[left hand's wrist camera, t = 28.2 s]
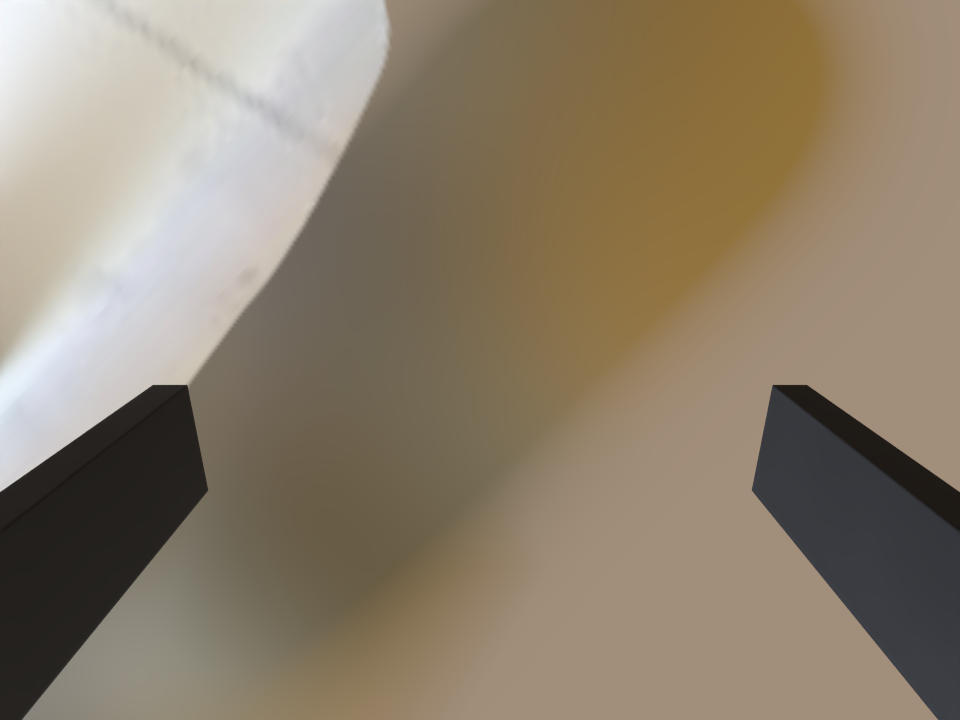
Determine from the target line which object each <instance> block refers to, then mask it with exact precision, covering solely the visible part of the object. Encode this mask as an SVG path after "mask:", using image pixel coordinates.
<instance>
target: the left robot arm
mask: <svg viewBox="0 0 960 720" xmlns="http://www.w3.org/2000/svg"><path fill="white" fill-rule="evenodd" d="M207 491H208V487H207V482H206V477H205V472H204V467H203V462H202V457H201V452H200V447H199V442H198V437H197V432H196V427H195V422H194V417H193V412H192V407H191V402H190V396H189V391H188V386H187V385H152V386H151V387H150V388H148V389H147V390H145V391H144V392H142V393H141V394H140V395H138V396H137V397H135V398H134V399H132V400H131V401H130V402H128V403H127V404H125V405H124V406H123V407H121V408H120V409H118V410H117V411H115V412H114V413H113V414H111V415H110V416H108V417H107V418H105V419H104V420H103V421H101V422H100V423H98V424H97V425H95V426H94V427H93V428H91V429H90V430H88V431H87V432H85V433H84V434H83V435H81V436H80V437H78V438H77V439H75V440H74V441H73V442H71V443H70V444H68V445H67V446H65V447H64V448H63V449H61V450H60V451H58V452H57V453H55V454H54V455H53V456H51V457H50V458H48V459H47V460H45V461H44V462H43V463H41V464H40V465H38V466H37V467H35V468H34V469H33V470H31V471H30V472H28V473H27V474H25V475H24V476H23V477H21V478H20V479H18V480H17V481H16V482H14V483H13V484H11V485H10V486H8V487H7V488H6V489H4V490H3V491H1V492H0V720H22V719H23V718H24V716H25V715H26V714H27V713H28V711H29V710H30V709H31V708H32V707H33V705H34V704H35V703H36V702H37V700H38V699H39V698H40V697H41V695H42V694H43V693H44V692H45V691H46V689H47V688H48V687H49V686H50V684H51V683H52V682H53V681H54V679H55V678H56V677H57V676H58V675H59V673H60V672H61V671H62V670H63V668H64V667H65V666H66V665H67V663H68V662H69V661H70V660H71V659H72V657H73V656H74V655H75V654H76V652H77V651H78V650H79V649H80V647H81V646H82V645H83V644H84V642H85V641H86V640H87V639H88V638H89V636H90V635H91V634H92V633H93V631H94V630H95V629H96V628H97V627H98V625H99V624H100V623H101V622H102V620H103V619H104V618H105V617H106V615H107V614H108V613H109V612H110V611H111V609H112V608H113V607H114V606H115V604H116V603H117V602H118V601H119V600H120V598H121V597H122V596H123V595H124V593H125V592H126V591H127V590H128V588H129V587H130V586H131V585H132V584H133V582H134V581H135V580H136V579H137V577H138V576H139V575H140V574H141V572H142V571H143V570H144V569H145V568H146V566H147V565H148V564H149V563H150V561H151V560H152V559H153V558H154V556H155V555H156V554H157V553H158V552H159V550H160V549H161V548H162V547H163V545H164V544H165V543H166V542H167V540H168V539H169V538H170V537H171V535H172V534H173V533H174V532H175V531H176V529H177V528H178V527H179V526H180V524H181V523H182V522H183V521H184V520H185V518H186V517H187V516H188V515H189V513H190V512H191V511H192V510H193V508H194V507H195V506H196V505H197V504H198V502H199V501H200V500H201V499H202V497H203V496H204V495H205V494H206V492H207ZM752 491H753V492H754V494H755V495H756V496H757V497H758V499H759V500H760V501H761V502H762V504H763V505H764V506H765V507H766V508H767V510H768V511H769V512H770V513H771V515H772V516H773V517H774V518H775V520H776V521H777V522H778V523H779V524H780V526H781V527H782V528H783V529H784V531H785V532H786V533H787V534H788V535H789V537H790V538H791V539H792V540H793V542H794V543H795V544H796V545H797V547H798V548H799V549H800V550H801V551H802V553H803V554H804V555H805V556H806V558H807V559H808V560H809V561H810V563H811V564H812V565H813V566H814V567H815V569H816V570H817V571H818V572H819V574H820V575H821V576H822V577H823V579H824V580H825V581H826V582H827V583H828V585H829V586H830V587H831V588H832V590H833V591H834V592H835V593H836V595H837V596H838V597H839V598H840V600H841V601H842V602H843V603H844V604H845V606H846V607H847V608H848V609H849V611H850V612H851V613H852V614H853V615H854V617H855V618H856V619H857V620H858V622H859V623H860V624H861V625H862V627H863V628H864V629H865V630H866V631H867V633H868V634H869V635H870V636H871V638H872V639H873V640H874V641H875V643H876V644H877V645H878V646H879V647H880V649H881V650H882V651H883V652H884V654H885V655H886V656H887V657H888V659H889V660H890V661H891V662H892V663H893V665H894V666H895V667H896V668H897V670H898V671H899V672H900V673H901V675H902V676H903V677H904V678H905V679H906V681H907V682H908V683H909V684H910V686H911V687H912V688H913V689H914V691H915V692H916V693H917V694H918V695H919V697H920V698H921V699H922V700H923V702H924V703H925V704H926V705H927V707H928V708H929V709H930V710H931V711H932V713H933V714H934V715H935V716H936V718H937V719H938V720H960V492H959V491H957V490H956V489H954V488H953V487H952V486H950V485H949V484H947V483H946V482H944V481H943V480H942V479H940V478H939V477H937V476H936V475H934V474H933V473H932V472H930V471H929V470H927V469H926V468H925V467H923V466H922V465H920V464H919V463H917V462H916V461H915V460H913V459H912V458H910V457H909V456H907V455H906V454H905V453H903V452H902V451H900V450H899V449H897V448H896V447H895V446H893V445H892V444H890V443H889V442H887V441H886V440H885V439H883V438H882V437H880V436H879V435H877V434H876V433H874V432H873V431H872V430H870V429H869V428H867V427H866V426H865V425H863V424H862V423H860V422H859V421H857V420H856V419H855V418H853V417H852V416H850V415H849V414H847V413H846V412H845V411H843V410H842V409H840V408H839V407H837V406H836V405H835V404H833V403H832V402H830V401H829V400H827V399H826V398H825V397H823V396H822V395H820V394H819V393H818V392H816V391H815V390H813V389H812V388H810V387H809V386H808V385H773V386H772V391H771V396H770V401H769V407H768V412H767V417H766V422H765V427H764V432H763V437H762V442H761V447H760V452H759V457H758V462H757V467H756V472H755V477H754V482H753V487H752Z"/></svg>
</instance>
